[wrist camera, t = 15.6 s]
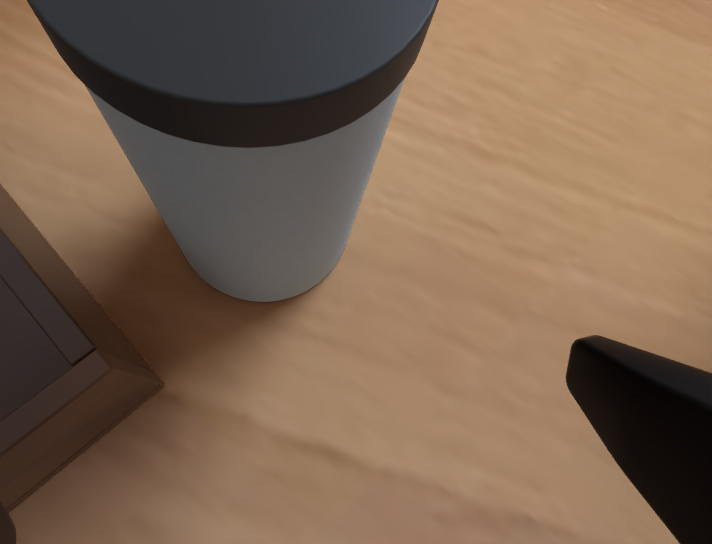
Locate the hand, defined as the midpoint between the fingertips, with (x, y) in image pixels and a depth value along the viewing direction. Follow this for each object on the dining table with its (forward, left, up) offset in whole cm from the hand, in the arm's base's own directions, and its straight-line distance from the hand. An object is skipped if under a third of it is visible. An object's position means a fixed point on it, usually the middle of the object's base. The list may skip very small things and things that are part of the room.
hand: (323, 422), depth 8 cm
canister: (+8, +1, -11) cm, 13 cm away
